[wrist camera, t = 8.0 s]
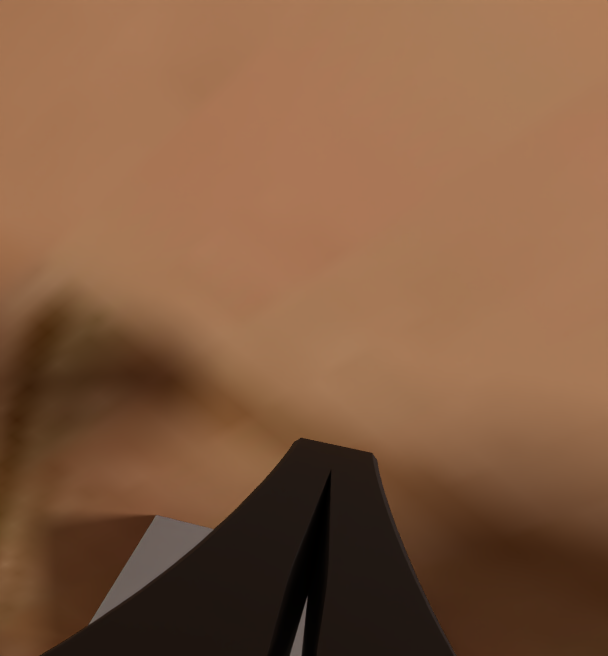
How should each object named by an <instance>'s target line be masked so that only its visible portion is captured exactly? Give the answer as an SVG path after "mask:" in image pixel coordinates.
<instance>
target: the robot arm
mask: <svg viewBox="0 0 608 656" xmlns="http://www.w3.org/2000/svg"><path fill="white" fill-rule="evenodd" d="M307 596H308V597H307ZM306 600H307V606H306V616H305V626H304V635H303V645H302V655H301V656H456V654H455V652H454V650H453V649H452V647H451V645H450V643H449V641H448V639H447V638H446V636H445V634H444V632H443V630H442V628H441V626H440V624H439V622H438V620H437V618H436V616H435V614H434V612H433V610H432V608H431V606H430V604H429V602H428V600H427V598H426V595H425V593H424V591H423V589H422V587H421V585H420V583H419V581H418V578H417V576H416V574H415V572H414V569H413V567H412V565H411V562H410V560H409V558H408V555H407V553H406V550H405V548H404V545H403V543H402V540H401V537H400V535H399V532H398V530H397V527H396V525H395V522H394V519H393V516H392V514H391V511H390V508H389V504H388V501H387V498H386V495H385V492H384V488H383V485H382V481H381V477H380V473H379V468H378V462H377V459H376V458H375V456H374V455H373V454H372V453H370V452H365V451H360V450H356V449H351V448H346V447H342V446H337V445H332V444H328V443H323V442H318V441H314V440H309V439H304V438H300V439H299V440H297V441H295V442H294V443H293V444H292V446H291V447H290V449H289V450H288V452H287V453H286V454H285V456H284V457H283V458H282V459H281V461H280V462H279V463H278V464H277V466H276V467H275V468H274V469H273V470H272V471H271V473H270V474H269V475H268V476H267V477H266V478H265V479H264V481H263V482H262V483H261V484H260V485H259V486H258V487H257V488H256V489H255V490H254V491H253V492H252V493H251V494H250V495H249V496H248V497H247V498H246V499H245V500H244V501H243V502H242V503H241V504H240V505H239V507H238V508H237V509H235V510H234V511H233V512H232V513H231V514H230V515H229V516H228V517H227V518H226V519H225V520H224V521H223V522H222V523H220V524H219V525H218V526H217V527H216V528H215V529H214V530H213V531H212V532H210V533H209V534H208V535H207V536H206V537H205V538H204V539H203V540H202V541H201V542H199V543H198V544H197V545H196V546H195V547H194V548H193V549H191V550H190V551H189V552H188V553H186V554H185V555H184V556H183V557H182V558H180V559H179V560H178V561H177V562H175V563H174V564H173V565H172V566H170V567H169V568H168V569H167V570H165V571H164V572H163V573H161V574H160V575H159V576H157V577H156V578H155V579H154V580H152V581H151V582H150V583H148V584H147V585H146V586H144V587H143V588H142V589H140V590H139V591H137V592H136V593H135V594H133V595H132V596H130V597H129V598H128V599H126V600H125V601H123V602H122V603H120V604H119V605H117V606H116V607H114V608H113V609H112V610H110V611H109V612H107V613H106V614H104V615H103V616H101V617H100V618H98V619H97V620H96V621H94V622H93V623H91V624H90V625H88V626H87V627H85V628H83V629H82V630H80V631H79V632H77V633H76V634H74V635H73V636H71V637H70V638H68V639H66V640H65V641H63V642H62V643H60V644H58V645H57V646H55V647H54V648H52V649H50V650H48V651H47V652H45V653H43V654H42V655H40V656H290V653H291V650H292V647H293V643H294V640H295V637H296V633H297V630H298V626H299V623H300V620H301V616H302V613H303V610H304V606H305V603H306Z"/></svg>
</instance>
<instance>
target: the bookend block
mask: <svg viewBox="0 0 608 656" xmlns="http://www.w3.org/2000/svg"><path fill="white" fill-rule="evenodd" d="M213 530H214V529H211V528H207V527H203V526H199V525H195V524H191V523H187V522H183V521H179V520H175V519H171V518H166V517H162V516H158V515H156V516H155V518H154V519H153V521H152V523H151V524H150V526H149V528H148V529H147V531H146V532H145V534H144V536H143V537H142V539H141V540H140V542H139V544H138V545H137V547H136V549H135V550H134V552H133V553H132V555H131V557H130V558H129V560H128V562H127V563H126V565H125V566H124V568H123V570H122V571H121V573H120V574H119V576H118V578H117V579H116V581H115V583H114V584H113V586H112V587H111V589H110V591H109V592H108V594H107V596H106V597H105V599H104V600H103V602H102V604H101V605H100V607H99V608H98V610H97V612H96V613H95V615H94V617H93V618H92V620H91V621H90V623H89V625H90V624H91V623H93V622H94V621H96V620H97V619H98V618H100V617H101V616H103V615H104V614H106V613H107V612H109V611H110V610H112V609H113V608H114V607H116V606H117V605H119V604H120V603H122V602H123V601H125V600H126V599H128V598H129V597H130V596H132V595H133V594H135V593H136V592H137V591H139V590H140V589H142V588H143V587H144V586H146V585H147V584H148V583H150V582H151V581H152V580H154V579H155V578H156V577H157V576H159V575H160V574H161V573H163V572H164V571H165V570H167V569H168V568H169V567H170V566H172V565H173V564H174V563H175V562H177V561H178V560H179V559H180V558H182V557H183V556H184V555H185V554H186V553H188V552H189V551H190V550H191V549H193V548H194V547H195V546H196V545H197V544H198V543H199V542H201V541H202V540H203V539H204V538H205V537H206V536H207V535H208V534H209V533H210V532H212V531H213ZM307 597H308V596H307ZM306 606H307V600H306V603H305V606H304V610H303V613H302V616H301V620H300V623H299V626H298V630H297V633H296V637H295V640H294V643H293V647H292V650H291V653H290V656H301V655H302V645H303V635H304V626H305V616H306Z"/></svg>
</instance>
